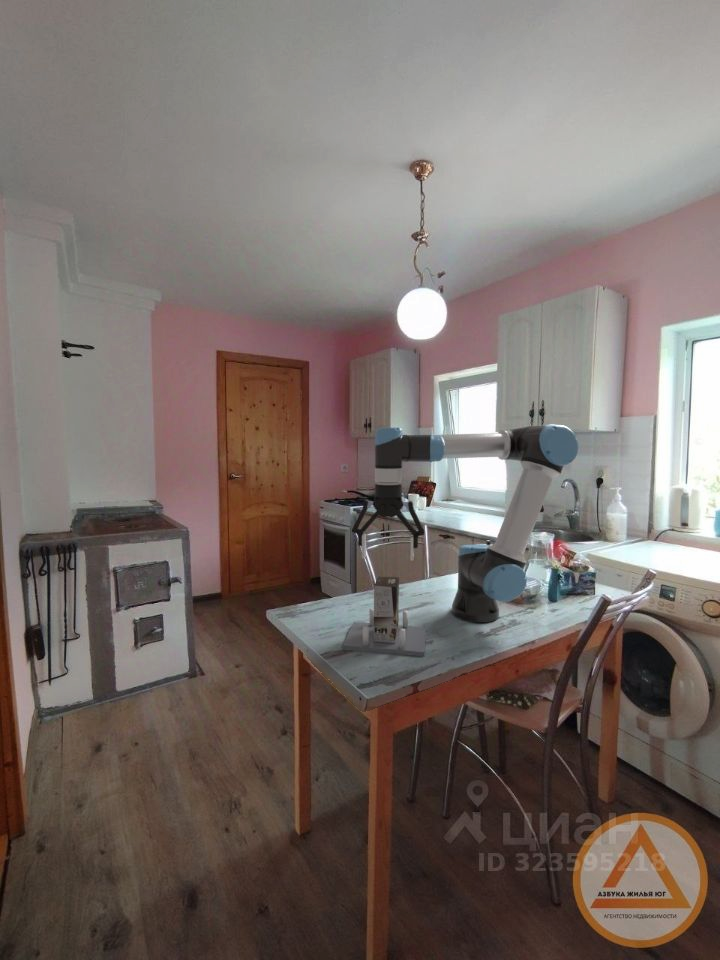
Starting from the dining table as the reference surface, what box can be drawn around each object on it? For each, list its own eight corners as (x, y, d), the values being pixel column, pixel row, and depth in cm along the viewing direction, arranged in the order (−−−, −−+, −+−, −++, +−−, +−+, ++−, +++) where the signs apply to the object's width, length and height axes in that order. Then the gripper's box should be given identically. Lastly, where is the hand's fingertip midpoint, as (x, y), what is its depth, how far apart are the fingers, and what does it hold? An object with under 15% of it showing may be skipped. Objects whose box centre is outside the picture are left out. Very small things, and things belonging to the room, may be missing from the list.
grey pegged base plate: (425, 631, 133) (425, 611, 132) (424, 656, 117) (424, 633, 117) (353, 625, 136) (353, 606, 136) (343, 649, 121) (343, 627, 120)
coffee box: (395, 644, 122) (396, 586, 120) (372, 641, 123) (373, 585, 121) (399, 630, 131) (399, 576, 129) (377, 628, 132) (378, 575, 130)
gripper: (433, 482, 125) (432, 556, 126) (346, 481, 129) (346, 553, 131) (433, 485, 117) (432, 563, 119) (341, 483, 121) (341, 559, 123)
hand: (387, 558), depth 125 cm, fingers open, 13 cm apart
